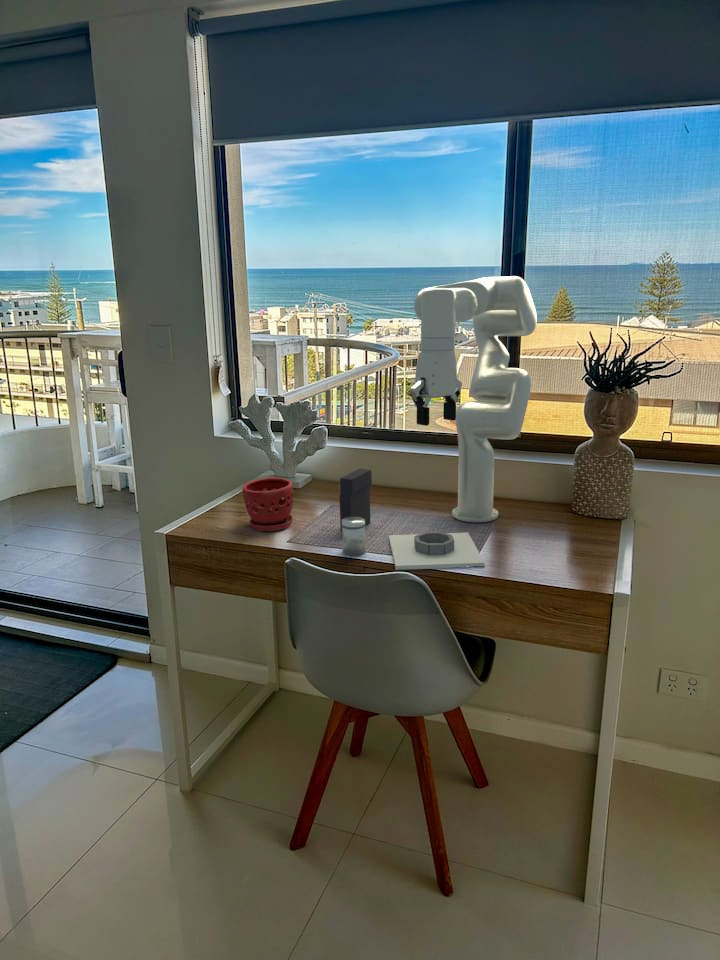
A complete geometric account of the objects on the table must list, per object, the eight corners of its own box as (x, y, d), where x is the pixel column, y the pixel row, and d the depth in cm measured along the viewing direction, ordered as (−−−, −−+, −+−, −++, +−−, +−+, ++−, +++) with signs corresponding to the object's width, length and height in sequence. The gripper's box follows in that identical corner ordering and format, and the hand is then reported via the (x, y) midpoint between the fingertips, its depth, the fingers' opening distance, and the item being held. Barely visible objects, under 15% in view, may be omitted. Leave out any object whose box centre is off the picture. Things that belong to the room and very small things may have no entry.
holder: (388, 539, 172) (388, 525, 171) (467, 536, 172) (468, 523, 172) (395, 569, 153) (395, 555, 152) (484, 566, 153) (485, 552, 152)
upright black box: (358, 521, 186) (357, 467, 182) (372, 523, 184) (371, 469, 180) (338, 533, 177) (337, 477, 173) (353, 536, 175) (352, 479, 171)
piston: (342, 548, 167) (341, 517, 164) (365, 547, 167) (364, 516, 165) (342, 556, 161) (341, 524, 159) (366, 555, 161) (365, 523, 159)
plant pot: (264, 516, 192) (262, 475, 189) (304, 522, 186) (302, 480, 183) (235, 530, 181) (232, 487, 178) (276, 537, 175) (273, 492, 172)
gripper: (448, 344, 160) (446, 416, 164) (399, 347, 148) (399, 425, 152) (474, 344, 155) (472, 419, 159) (426, 348, 143) (425, 428, 147)
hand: (436, 422), depth 156 cm, fingers open, 9 cm apart
